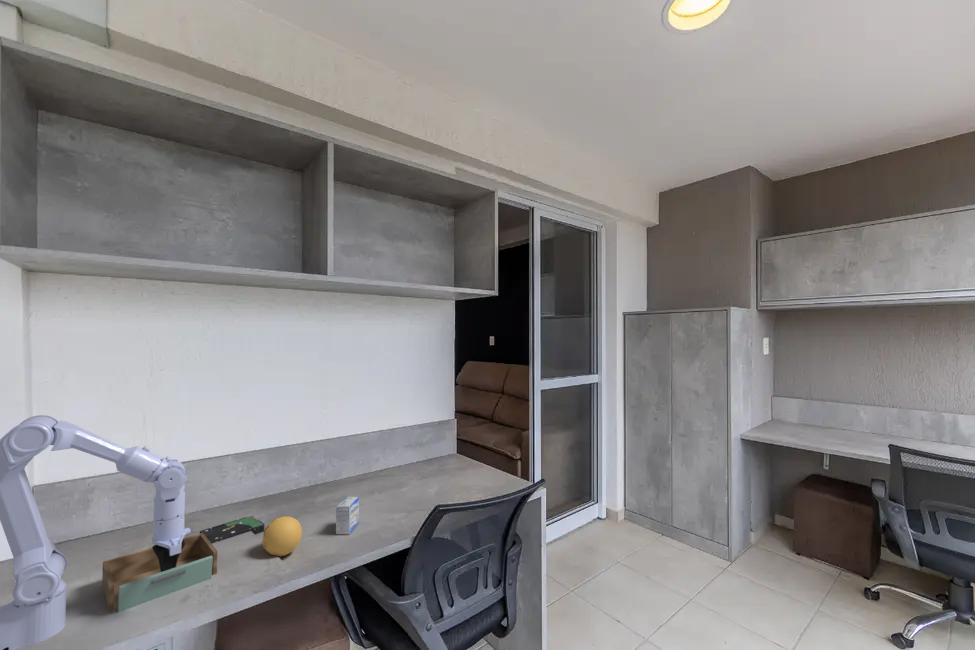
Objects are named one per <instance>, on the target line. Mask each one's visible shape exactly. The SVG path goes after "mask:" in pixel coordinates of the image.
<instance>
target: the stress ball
mask: <svg viewBox="0 0 975 650" xmlns="http://www.w3.org/2000/svg"><path fill="white" fill-rule="evenodd" d="M302 537H303V528H302V524H300V522H299V520H297V519H296V518H294V517H292V516H280V517H278V518H277V517H276V518H275V519H273V520H272V521H271V522H270V523H269V524H268V525H267V526H266V527H265V529H264V532H263V535H262V541H261V545H262V548H264V549H265V551H266V552H267V553H269V554H270V555H272V556H277V557H279V558H281V557H286V556H287V555H288V554H291V552H293V551H294V550H295V549H296V548H297V547H298V545H299V544H300V543H301V540H302Z"/></svg>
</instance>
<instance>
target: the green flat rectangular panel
mask: <svg viewBox="0 0 975 650" xmlns="http://www.w3.org/2000/svg"><path fill="white" fill-rule="evenodd" d="M212 564H213V557H212V556H209V557H206V558H203V559H200V560H197V561H194V562H190V563H187V564H184V565H181V566H178V567H175V568H172V569H169V570H166V571H163V572H160V573H157V574H154V575H151V576H148V577H145V578H142V579H139V580H136V581H133V582H130V583H126V584H123V585H120V586H119V599H118V609H117V611H118V613H121V612H123V611H126V610H128V609H132V608H134V607H137V606H139V605H142V604H146V603H147V602H150V601H153V600H157V599H159V598H162V597H165V596H167V595H170V594H172V593H175V592H178V591H181V590H184V589H187V588H189V587H192V586H194V585H197V584H200V583H203V582H206V581H208V580H211V579H212V576H213V575H212Z"/></svg>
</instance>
